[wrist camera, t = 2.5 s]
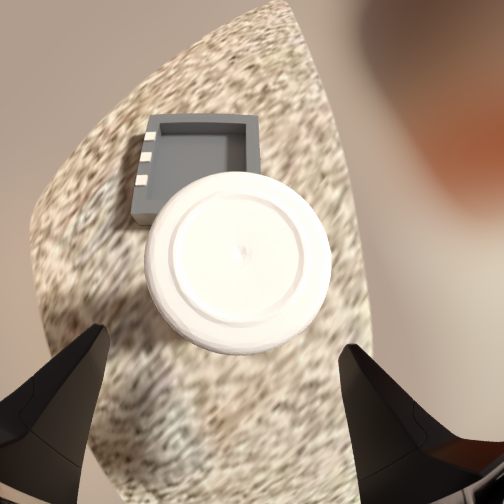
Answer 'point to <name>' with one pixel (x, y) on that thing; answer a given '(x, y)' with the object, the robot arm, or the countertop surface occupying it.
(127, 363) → the countertop surface
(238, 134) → the dish
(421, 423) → the robot arm
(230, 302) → the sprinkles bottle
